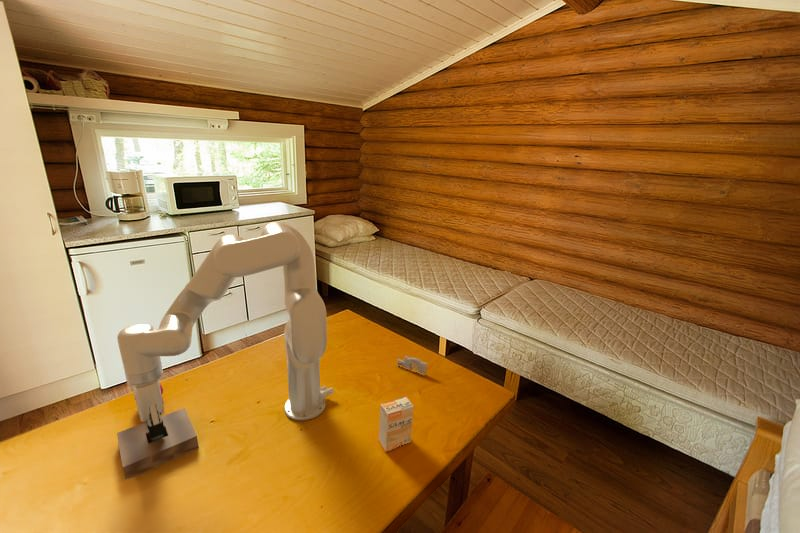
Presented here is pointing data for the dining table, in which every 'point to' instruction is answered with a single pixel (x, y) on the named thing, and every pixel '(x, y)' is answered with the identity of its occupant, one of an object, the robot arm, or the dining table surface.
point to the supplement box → (395, 423)
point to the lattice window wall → (408, 363)
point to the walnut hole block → (156, 444)
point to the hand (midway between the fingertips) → (156, 430)
